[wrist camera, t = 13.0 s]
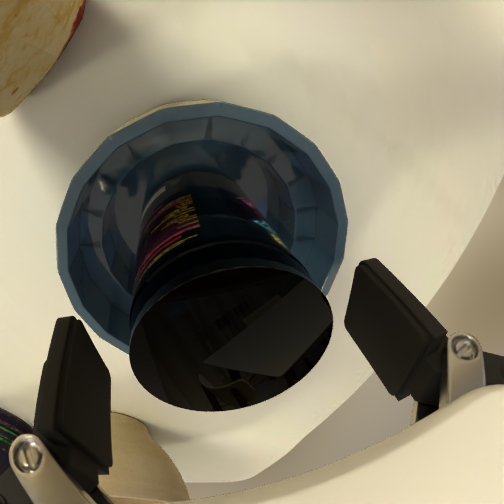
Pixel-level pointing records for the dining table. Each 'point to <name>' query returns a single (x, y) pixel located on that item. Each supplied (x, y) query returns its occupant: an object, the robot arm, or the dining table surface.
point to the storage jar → (10, 435)
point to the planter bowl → (140, 467)
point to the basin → (177, 162)
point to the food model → (32, 43)
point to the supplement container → (219, 300)
